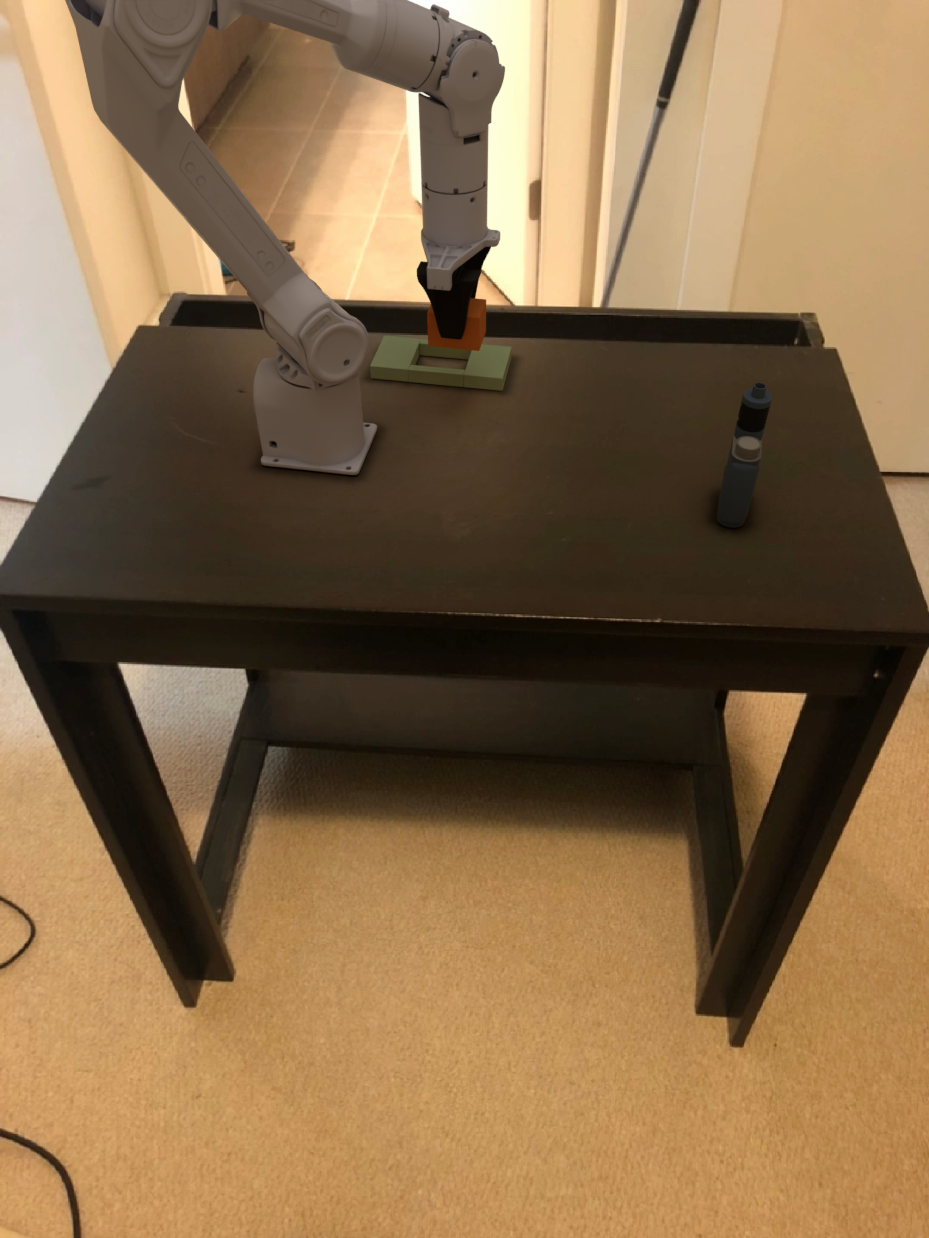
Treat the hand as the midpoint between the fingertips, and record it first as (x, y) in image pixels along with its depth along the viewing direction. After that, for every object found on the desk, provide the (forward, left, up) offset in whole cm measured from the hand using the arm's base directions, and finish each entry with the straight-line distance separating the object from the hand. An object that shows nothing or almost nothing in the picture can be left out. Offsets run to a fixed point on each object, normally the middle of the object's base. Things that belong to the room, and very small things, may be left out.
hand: (456, 326), depth 94 cm
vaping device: (+27, -13, -9) cm, 31 cm away
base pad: (-3, +6, -8) cm, 11 cm away
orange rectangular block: (0, 0, -1) cm, 1 cm away
